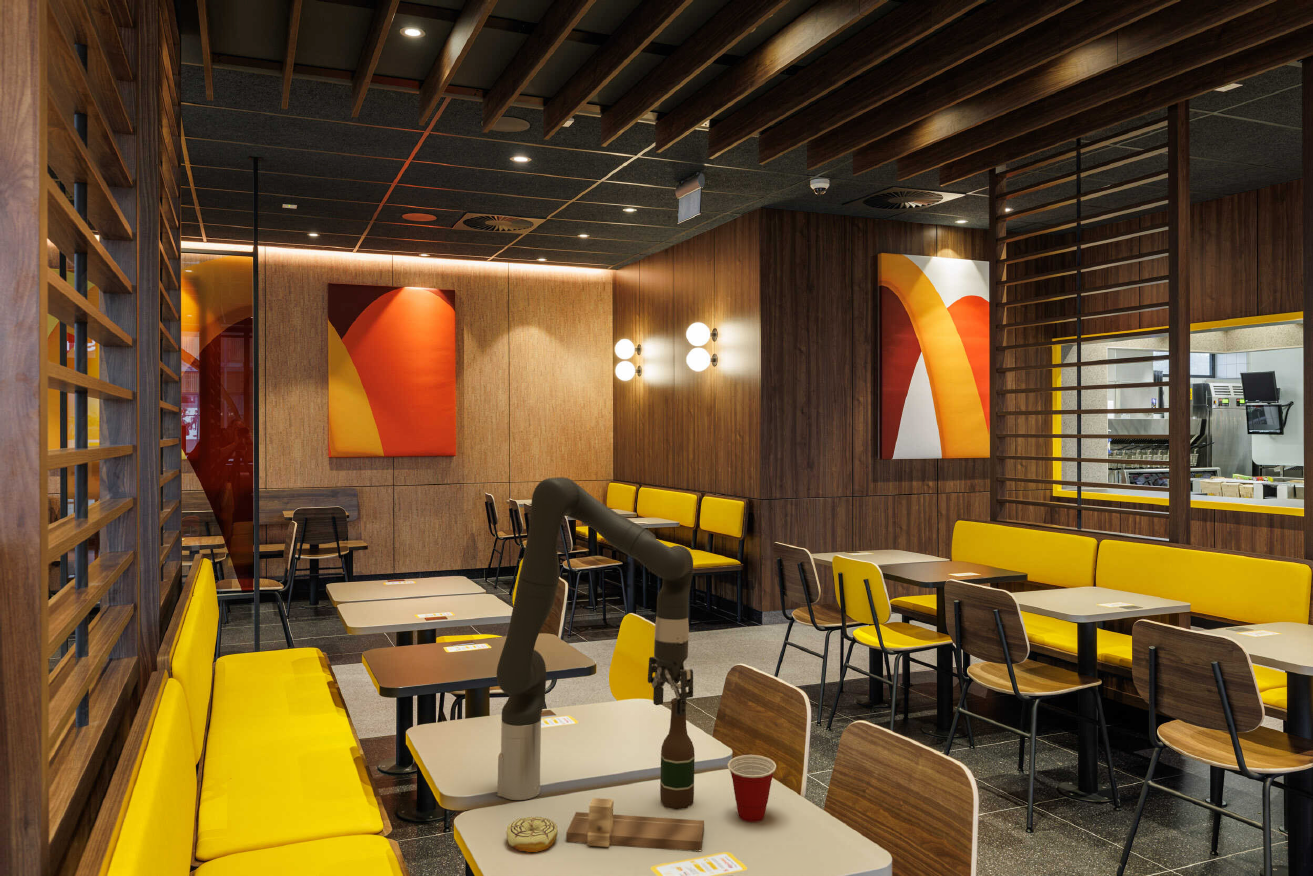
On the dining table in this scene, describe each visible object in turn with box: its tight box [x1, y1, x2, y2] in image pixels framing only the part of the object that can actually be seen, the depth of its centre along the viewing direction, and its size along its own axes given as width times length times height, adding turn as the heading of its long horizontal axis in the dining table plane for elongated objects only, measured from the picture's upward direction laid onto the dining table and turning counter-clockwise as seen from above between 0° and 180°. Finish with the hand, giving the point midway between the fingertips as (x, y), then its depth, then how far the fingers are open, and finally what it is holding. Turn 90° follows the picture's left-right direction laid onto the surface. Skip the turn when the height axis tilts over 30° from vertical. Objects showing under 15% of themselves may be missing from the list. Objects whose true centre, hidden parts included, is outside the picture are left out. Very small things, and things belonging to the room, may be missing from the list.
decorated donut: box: [505, 816, 559, 853], centre depth 184 cm, size 10×11×4 cm
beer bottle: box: [659, 697, 696, 810], centre depth 205 cm, size 8×8×24 cm
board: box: [565, 811, 705, 851], centre depth 187 cm, size 28×10×2 cm, turn 84°
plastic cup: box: [727, 754, 777, 823], centre depth 198 cm, size 11×11×12 cm
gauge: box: [586, 797, 614, 848], centre depth 186 cm, size 4×10×8 cm, turn 174°
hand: (669, 710), depth 197 cm, fingers open, 8 cm apart
